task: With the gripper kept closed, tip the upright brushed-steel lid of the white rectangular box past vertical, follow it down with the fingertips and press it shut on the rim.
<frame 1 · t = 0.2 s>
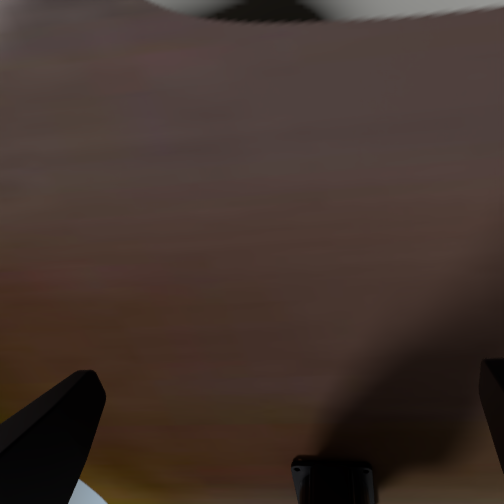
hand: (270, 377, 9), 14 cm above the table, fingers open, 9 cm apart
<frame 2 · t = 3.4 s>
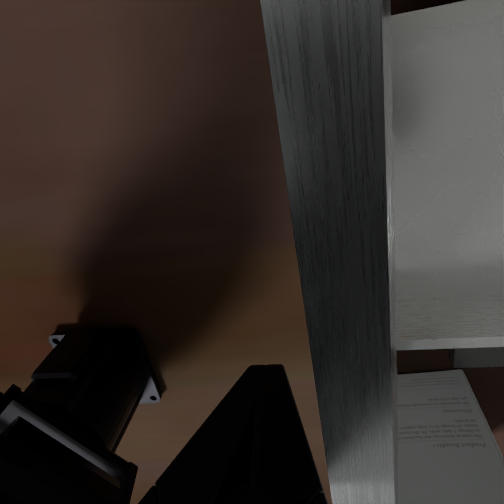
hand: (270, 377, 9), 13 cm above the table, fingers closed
supplement box: (406, 409, 26), on the table
white rectangular box: (474, 172, 19), on the table
lid: (354, 293, 12), point 9 cm above the table, hinge at 98.9°, touching gripper
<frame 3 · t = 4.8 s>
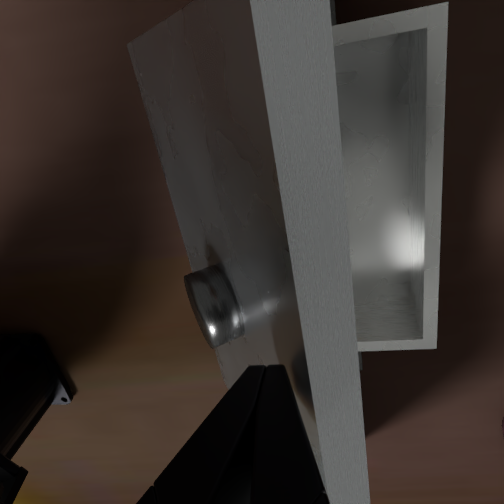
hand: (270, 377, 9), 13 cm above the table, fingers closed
white rectangular box: (315, 190, 20), on the table
lid: (227, 295, 13), point 9 cm above the table, hinge at 56.6°
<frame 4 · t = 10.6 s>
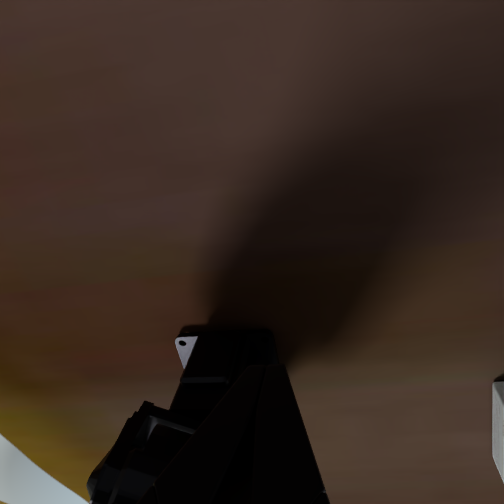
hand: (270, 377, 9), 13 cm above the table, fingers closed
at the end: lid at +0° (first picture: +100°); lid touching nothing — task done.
